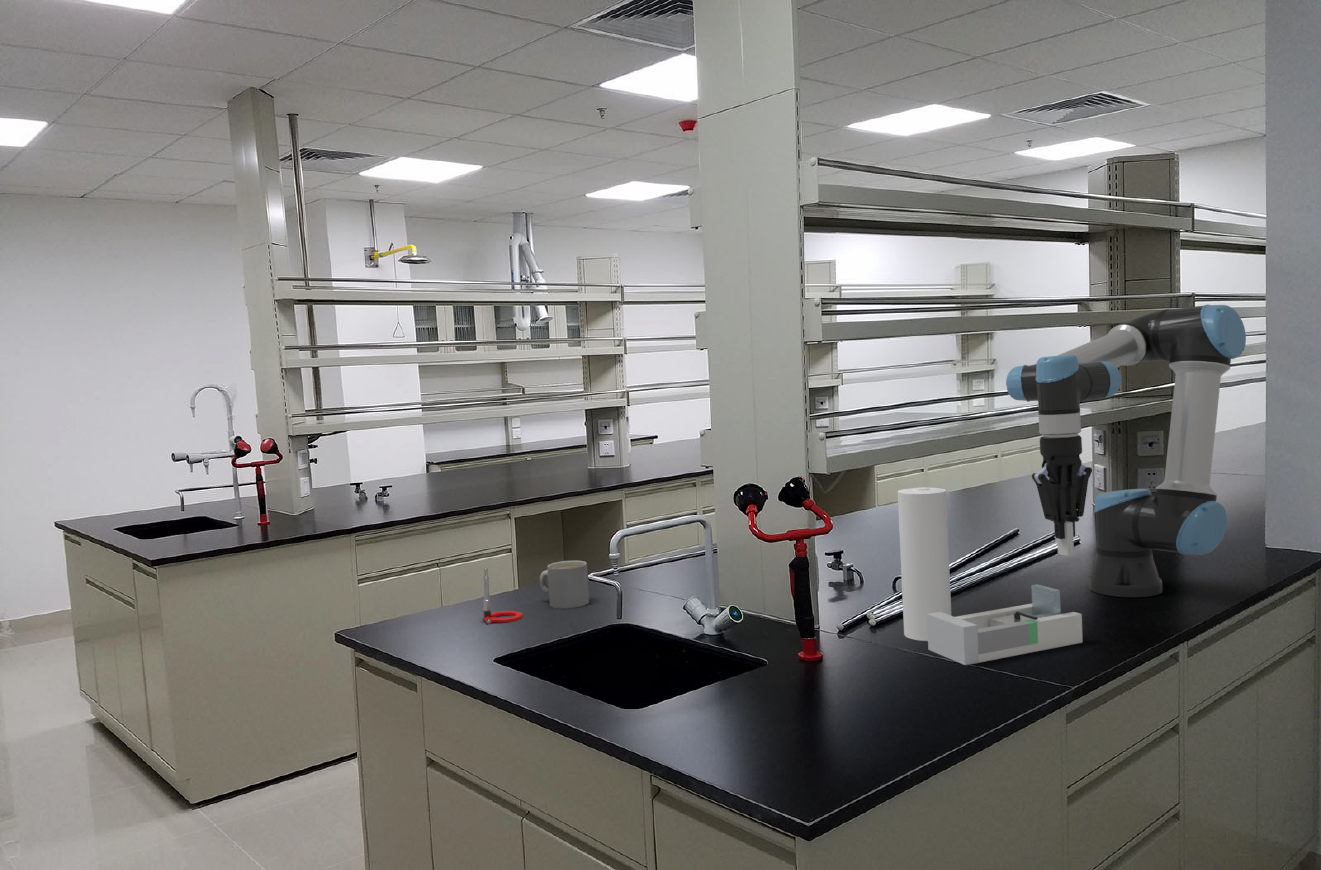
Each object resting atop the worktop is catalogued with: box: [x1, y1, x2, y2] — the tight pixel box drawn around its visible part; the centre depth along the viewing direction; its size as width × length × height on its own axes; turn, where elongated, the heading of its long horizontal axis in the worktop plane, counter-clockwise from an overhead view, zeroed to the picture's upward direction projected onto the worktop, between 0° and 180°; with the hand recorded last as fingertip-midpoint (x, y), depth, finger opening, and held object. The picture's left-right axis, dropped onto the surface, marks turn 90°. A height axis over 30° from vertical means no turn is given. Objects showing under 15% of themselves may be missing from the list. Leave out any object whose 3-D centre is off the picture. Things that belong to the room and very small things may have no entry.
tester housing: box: [927, 603, 1083, 666], centre depth 177 cm, size 27×11×7 cm, turn 110°
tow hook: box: [482, 567, 524, 625], centre depth 222 cm, size 8×13×9 cm
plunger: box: [989, 583, 1062, 627], centre depth 177 cm, size 16×8×8 cm, turn 109°
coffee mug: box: [539, 560, 590, 610], centre depth 234 cm, size 13×10×10 cm
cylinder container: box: [897, 486, 952, 642], centre depth 187 cm, size 9×9×30 cm
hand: (1066, 554), depth 182 cm, fingers closed
